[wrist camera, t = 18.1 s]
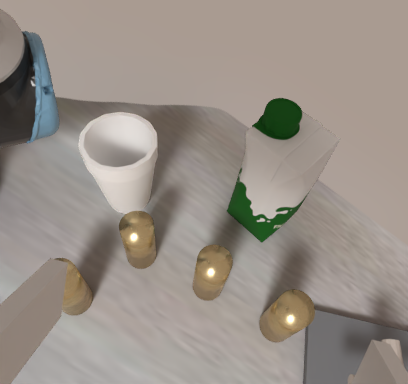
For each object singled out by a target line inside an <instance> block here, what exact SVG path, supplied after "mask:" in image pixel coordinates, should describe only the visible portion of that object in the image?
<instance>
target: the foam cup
mask: <svg viewBox="0 0 408 384" xmlns="http://www.w3.org/2000/svg"><path fill="white" fill-rule="evenodd" d="M78 148H79V151H80V154H81V156H82V159H83V161H84V163H85V165H86V167H87V169H88V171H89V172H90V173H91V174H92V175H93V177H94V178H95V180H96V182H97V183H98V185H99V187H100V189H101V190H102V192H103V194H104V195H105V197H106V199H107V200H108V202H109V204H110V205H111V207H112V208H113V209H115V210H116V211H117V212H119V213H124V214H127V213H129V212H132V211H140V210H142V209H143V208H145V207H146V205H147V203H148V202H149V200H150V195H151V188H152V182H153V175H154V169H155V163H156V160H157V159H158V144H157V133H156V131H155V129H154V128H153V126H152V125H151V123H150V122H149V121H147V120H145V119H144V118H142V117H140V116H138V115H137V114H131V113H125V112H116V113H110V114H104V115H102V116H100V117H98V118H96V119H94V120H92V121H91V122H89V123H88V124H87V126H86V127H85V128H84V129H83V131H82V132H81V133H80V138H79V145H78Z"/></svg>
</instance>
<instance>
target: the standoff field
mask: <svg viewBox="0 0 408 384" xmlns="http://www.w3.org/2000/svg"><path fill="white" fill-rule="evenodd" d="M119 230H120V234H121V238H122V241H123V245H124V248H125V252H126V255H127V259H128V262H129V263H130V264H131V265H132V266H133V267H135V268H139V269H143V268H147V267H149V266H150V265H152V264H153V262H154V261H155V259H156V245H155V233H154V223H153V219H152V218H151V216H150V215H149V214H147V213H146V212H143V211H132V212H129V213H127V214H126V215H125V216H123V218H122V219H121V221H120V223H119ZM55 260H59V261H63V262H67V263H68V267H67V274H66V282H65V289H64V297H63V304H62V310H63V311H64V312H65V313H66V314H69V315H79V314H82V313H83V312H85V311H86V310H87V309H88V308H89V307H90V305H91V303H92V300H93V294H92V291H91V289H90V288H89V286H88V285H87V283H86V282H85V280H84V279H83V277H82V276H81V274H80V273H79V271H78V270H77V268H76V266H75V265H74V264H73V263H72V262H71V261H70V260H68V259H65V258H57V259H55ZM232 263H233V261H232V257H231V254H230V253H229V251H228V250H227V249H225V248H224V247H222V246H220V245H209V246H206V247H204V248H203V249H202V250H201V251H200V253H199V255H198V258H197V263H196V269H195V274H194V280H193V290H194V292H195V294H196V295H197V296H198V297H199V298H200V299H203V300H208V301H209V300H213V299H215V298H217V297H218V296H219V295H220V293H221V291H222V289H223V286H224V284H225V282H226V280H227V277H228V275H229V273H230V270H231V268H232ZM314 317H315V307H314V304H313V302H312V300H311V299H310V297H309V296H308V295H307V294H305V293H304V292H302V291H300V290H295V289H292V290H288V291H286V292H284V293H283V294H282V295H281V296H280V297H279V298H278V299H277V300H276V301H275V302H274V303H273V304H272V305H271V306H270V307H269V308H268V309H267V310H266V311H265V312H264V313H263V315H262V316H261V318H260V322H259V325H260V330H261V332H262V334H263V335H264V337H265V338H267V339H268V340H270V341H272V342H281V341H284V340H285V339H287V338H288V337H290V336H292V335H293V334H295V333H297V332H298V331H300V330H302V329H303V328H305V327H307V326H308V325H310V324H311V323H312V321H313V319H314Z"/></svg>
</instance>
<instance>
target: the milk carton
mask: <svg viewBox="0 0 408 384" xmlns="http://www.w3.org/2000/svg"><path fill="white" fill-rule="evenodd" d="M339 141H340V138H339V137H337V136H336V135H335V134H333V133H331V132H330V131H329V130H327V129H326V128H324V127H323V125H322V124H321V123H319V122H318V121H316V120H314V119H313V118H311V117H310V116H308V115H307V114H305V113H304V112H302V110H301V108H300V107H299V106H298V105H297V104H296V103H294V102H293V101H291V100H288V99H284V98H278V99H273V100H271V101H270V102H269V103H268V104H267V106H266V108H265V111H264V114H263V115H262V116H261V117H260V119H259V121H258V122H257V123H255V124H254V125H252V128H250V129H249V130H247V131H246V151H245V155H244V158H243V162H242V165H241V168H240V172H239V175H238V179H237V182H236V186H235V189H234V192H233V195H232V198H231V201H230V204H229V207H228V210H227V212H228V213H229V214H230V215H231V216H233V217H234V218H235V219H236V220H237V221H238V222H239V223H240V224H242V225H243V226H244V227H245V228H246V229H247V230H248V231H249V232H251V233H252V234H253V235H254V236H255V237H256V238H257V239H258V240H260V241H261V242H263V241H264V240H266V239H267V238H268V237H269V236H270V235H272V234H273V233H274V232H275V231H276V230H277V229H279V228H280V227H281V226H282V225H283V224H284V223H285V222H286V221H287V220H288V219H289V218H290V217H291V216H292V215H293V214H294V213H295V212H296V211H297V210H298V209H299V207H300V206H301V204H302V203H303V201H304V199H305V198H306V196H307V195H308V193H309V192H310V190H311V189H312V187H313V185H314V184H315V182H316V181H317V179H318V178H319V176H320V174H321V172H322V171H323V169H324V167H325V166H326V164H327V162H328V160H329V158H330V157H331V155H332V153H333V151H334V149H335V148H336V146H337V144H338V143H339Z"/></svg>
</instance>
